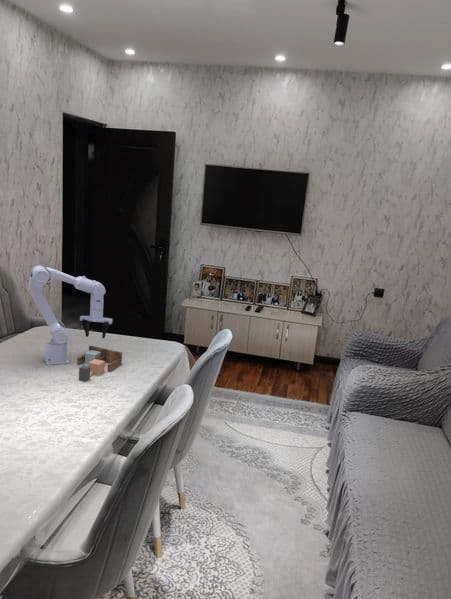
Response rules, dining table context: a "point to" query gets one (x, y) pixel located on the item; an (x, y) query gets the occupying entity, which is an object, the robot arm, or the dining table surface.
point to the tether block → (91, 369)
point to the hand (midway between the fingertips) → (95, 336)
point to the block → (92, 355)
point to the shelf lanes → (105, 357)
